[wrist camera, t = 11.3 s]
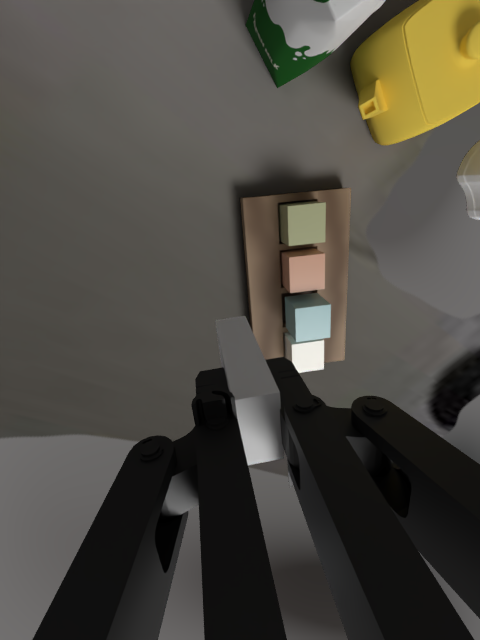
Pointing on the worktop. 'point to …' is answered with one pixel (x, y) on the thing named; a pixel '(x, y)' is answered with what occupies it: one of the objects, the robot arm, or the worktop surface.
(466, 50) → the teapot
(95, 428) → the worktop surface
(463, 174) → the jar
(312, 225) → the key olive
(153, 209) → the worktop surface
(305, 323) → the key teal
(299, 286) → the key terracotta
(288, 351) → the key cream
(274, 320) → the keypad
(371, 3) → the milk carton
